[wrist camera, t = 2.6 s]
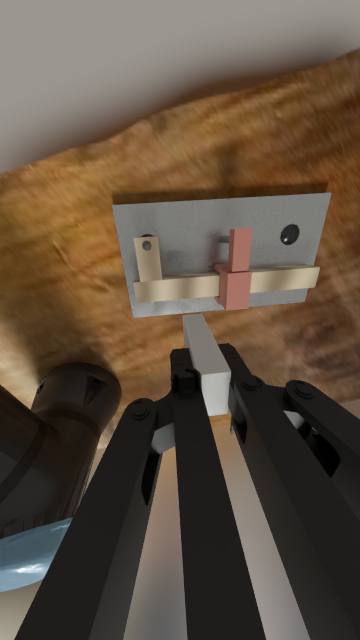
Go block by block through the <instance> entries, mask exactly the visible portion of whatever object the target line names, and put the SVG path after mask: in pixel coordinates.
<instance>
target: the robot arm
mask: <svg viewBox="0 0 360 640" xmlns="http://www.w3.org/2000/svg"><path fill="white" fill-rule="evenodd" d="M183 330H184V346H185V348H182V349H173V350H172V352H171V354H170V361H171V391H170V392H169V393H168V395H166V396H165V397H164V398H162V399H160V400H158V401H155V402H153V401H152V400H151V399H147V398H140V399H137V400H135V401H133V402H132V403H130V404H129V405H128V406H127V408H126V409H125V411H124V413H123V415H122V417H121V419H120V421H119V423H118V425H117V427H116V429H115V431H114V434H113V436H112V438H111V440H110V442H109V444H108V446H107V448H106V450H105V452H104V454H103V457H102V458H101V461H100V463H99V465H98V467H97V469H96V471H95V473H94V475H93V477H92V479H91V481H90V483H89V486H88V488H87V490H86V492H85V494H84V491H85V488H86V484H87V481H88V477H89V474H90V470H91V467H92V463H93V460H94V456H95V453H96V450H97V446H98V443H99V439H100V436H101V434H102V432H103V431H104V429H105V428H106V426H107V425H108V423H109V422H110V420H111V419H112V417H113V416H114V414H115V413H116V411H117V409H118V407H119V404H120V400H121V387H120V385H119V383H118V381H117V380H116V379H115V377H114V376H113V375H111V374H110V373H109V372H107V371H106V370H104V369H102V368H100V367H98V366H95V365H91V364H86V363H69V364H65V365H61V366H59V367H57V368H55V369H53V370H52V371H51V372H49V373H48V375H47V376H46V377H45V378H44V379H43V381H42V382H41V383H40V385H39V387H38V389H37V392H36V395H35V398H34V401H33V404H32V407H31V410H30V409H28V408H27V407H26V406H25V405H24V404H23V403H21V402H20V401H19V400H18V399H17V398H16V397H14V396H13V395H12V394H11V393H10V392H9V391H7V390H6V389H5V388H4V387H3V386H1V385H0V592H3V591H7V590H12V589H15V588H19V587H23V586H26V585H29V584H32V583H34V582H37V581H39V580H41V579H43V578H44V579H43V581H42V583H41V585H40V587H39V590H38V591H37V593H36V596H35V598H34V600H33V602H32V604H31V606H30V608H29V610H28V612H27V614H26V617H25V618H24V620H23V623H22V625H21V627H20V629H19V631H18V633H17V635H16V637H15V639H14V640H123V637H124V632H125V628H126V623H127V618H128V614H129V609H130V604H131V599H132V595H133V590H134V586H135V580H136V576H137V571H138V567H139V562H140V558H141V553H142V548H143V543H144V539H145V534H146V530H147V525H148V520H149V516H150V511H151V506H152V502H153V497H154V492H155V488H156V482H157V478H158V473H159V469H160V464H161V459H162V454H163V452H164V451H166V450H168V449H170V448H172V447H174V446H175V447H176V463H177V479H178V494H179V510H180V526H181V542H182V557H183V574H184V590H185V605H186V620H187V621H186V622H187V637H188V640H266V637H265V633H264V629H263V626H262V622H261V618H260V614H259V610H258V606H257V603H256V598H255V595H254V591H253V587H252V583H251V579H250V575H249V572H248V567H247V564H246V560H245V556H244V552H243V548H242V544H241V540H240V537H239V532H238V529H237V525H236V521H235V517H234V514H233V509H232V505H231V501H230V498H229V494H228V490H227V486H226V482H225V478H224V474H223V470H222V467H221V463H220V459H219V455H218V451H217V447H216V443H215V439H214V436H213V432H212V428H211V424H210V420H209V416H213V415H221V414H228V407H229V409H230V411H231V414H232V417H231V428H230V431H231V435H232V434H233V431H235V434H236V437H237V439H238V442H239V445H240V448H241V450H242V453H243V456H244V459H245V461H246V464H247V467H248V469H249V472H250V475H251V478H252V481H253V483H254V486H255V489H256V492H257V494H258V497H259V500H260V502H261V505H262V508H263V511H264V513H265V516H266V519H267V522H268V524H269V527H270V530H271V533H272V535H273V538H274V541H275V544H276V546H277V549H278V552H279V554H280V557H281V560H282V563H283V565H284V568H285V571H286V574H287V576H288V579H289V582H290V585H291V587H292V590H293V593H294V596H295V598H296V601H297V604H298V607H299V609H300V612H301V615H302V618H303V620H304V623H305V626H306V628H307V631H308V634H309V637H310V639H311V640H360V419H358V418H357V417H356V416H354V415H353V414H351V413H350V412H349V411H347V410H346V409H345V408H343V407H342V406H341V405H339V404H338V403H336V402H335V401H334V400H332V399H331V398H330V397H328V396H327V395H326V394H324V393H323V392H321V391H320V390H319V389H317V388H316V387H314V386H313V385H311V384H309V383H307V382H304V381H300V380H291V381H289V382H287V383H286V386H285V388H284V387H277V386H270V385H266V384H265V383H264V382H263V381H262V380H261V379H260V378H258V377H257V376H254V375H252V374H251V372H250V371H249V369H248V368H247V366H246V365H245V363H244V362H243V360H242V358H241V357H240V355H239V354H238V352H237V351H236V349H235V348H234V347H233V346H232V345H230V344H229V343H226V344H217V343H216V341H215V339H214V337H213V335H212V333H211V331H210V329H209V327H208V325H207V323H206V321H205V319H204V317H203V315H202V314H194V315H183ZM312 427H313V428H314V429H315V430H316V431H317V432H316V431H315V430H313V429H312ZM83 495H84V496H83Z"/></svg>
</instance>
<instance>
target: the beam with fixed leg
mask: <svg viewBox="0 0 360 640" xmlns="http://www.w3.org/2000/svg"><path fill="white" fill-rule="evenodd" d="M134 244H135V250H136V257H137V263H138V270H139V276H140V278H136V279H135V280H134V282H133V285H134V291H135V296H136V302H137V303H145V302H156V301H167V300H179V299H190V298H201V297H212V296H219V289H220V273H219V272H217V271H216V272H204V273H192V274H179V275H167V276H162V270H161V260H160V251H159V241H158V236H155V237H141V238H134ZM319 269H320V267H317V266H311V265H306V264H303V265H291V266H278V267H266V268H254V269H248V270H249V271H251V272H252V278H251V287H250V293H257V292H268V291H280V290H291V289H302V288H313V287H315V285H316V281H317V277H318V273H319Z"/></svg>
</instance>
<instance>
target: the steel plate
mask: <svg viewBox="0 0 360 640" xmlns="http://www.w3.org/2000/svg"><path fill="white" fill-rule="evenodd" d="M330 197H331V193H317V194H299V195H282V196H264V197H246V198H229V199H211V200H194V201H176V202H158V203H141V204H123V205H112V208H113V213H114V219H115V224H116V229H117V234H118V240H119V245H120V250H121V256H122V261H123V266H124V271H125V277H126V282H127V287H128V293H129V298H130V303H131V308H132V314H133V318H137V317H147V316H158V315H169V314H179V313H190V312H201V311H211V310H222V309H224V308H223V306H222V305H219V304H218V303H217V302H216V300H215V299H214V296H212V297H201V298H190V299H179V300H167V301H156V302H145V303H137V302H136V296H135V291H134V285H133V282H134V280H135V279H136V278H140V276H139V270H138V263H137V257H136V250H135V244H134V238H141V237H155V236H158V241H159V251H160V260H161V270H162V276H167V275H179V274H192V273H204V272H216V270H215V264H225V263H228V254H229V243H223V242H222V238H223V237H224V236H229V234H230V229H242V228H252V238H251V248H250V258H249V269H254V268H266V267H278V266H291V265H303V264H306V265H311V266H314V262H315V258H316V254H317V250H318V246H319V241H320V237H321V233H322V229H323V225H324V221H325V217H326V213H327V209H328V205H329V201H330ZM307 290H308V288H302V289H291V290H280V291H268V292H257V293H250V296H249V306H248V307H254V306H265V305H275V304H286V303H297V302H305V298H306V294H307Z"/></svg>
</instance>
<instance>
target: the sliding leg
mask: <svg viewBox="0 0 360 640" xmlns="http://www.w3.org/2000/svg"><path fill="white" fill-rule="evenodd" d="M251 238H252V228H242V229H230V234H229V236H224V237H223V238H222V242H223V243H229V254H228V263H225V264H215V270H216V271H217V272H219V273H220V289H219V296H214V299H215V300H216V302H217V303H218V304H219V305H222V306H223V308H224V309H225V310H226V311H227V310H238V309H248V306H249V296H250V287H251V278H252V272H251V271H249V270H248V269H249V258H250V248H251Z"/></svg>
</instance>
